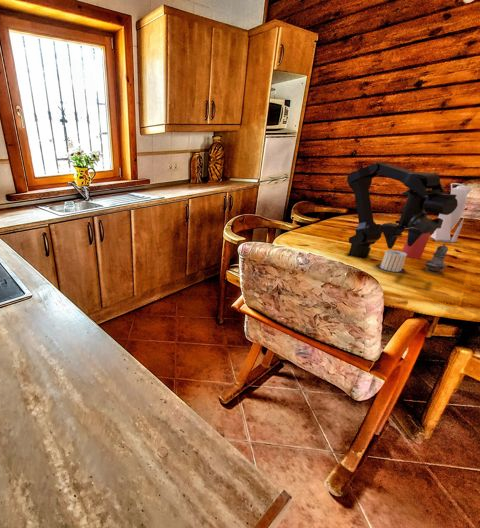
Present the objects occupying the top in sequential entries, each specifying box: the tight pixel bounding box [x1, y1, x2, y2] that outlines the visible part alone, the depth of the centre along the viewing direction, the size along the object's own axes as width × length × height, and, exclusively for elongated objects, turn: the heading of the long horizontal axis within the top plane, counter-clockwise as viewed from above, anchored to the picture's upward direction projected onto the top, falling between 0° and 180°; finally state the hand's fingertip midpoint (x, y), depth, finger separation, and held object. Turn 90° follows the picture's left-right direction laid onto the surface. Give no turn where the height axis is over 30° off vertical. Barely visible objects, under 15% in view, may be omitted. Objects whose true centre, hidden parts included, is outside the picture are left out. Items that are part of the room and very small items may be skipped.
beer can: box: [401, 233, 430, 260], centre depth 122 cm, size 7×7×12 cm
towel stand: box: [376, 263, 406, 274], centre depth 113 cm, size 9×9×4 cm
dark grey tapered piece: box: [424, 243, 449, 274], centre depth 108 cm, size 6×6×12 cm
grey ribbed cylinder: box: [380, 249, 407, 272], centre depth 113 cm, size 6×6×7 cm
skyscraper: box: [429, 182, 473, 244], centre depth 135 cm, size 8×8×28 cm
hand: (399, 247), depth 110 cm, fingers open, 9 cm apart
